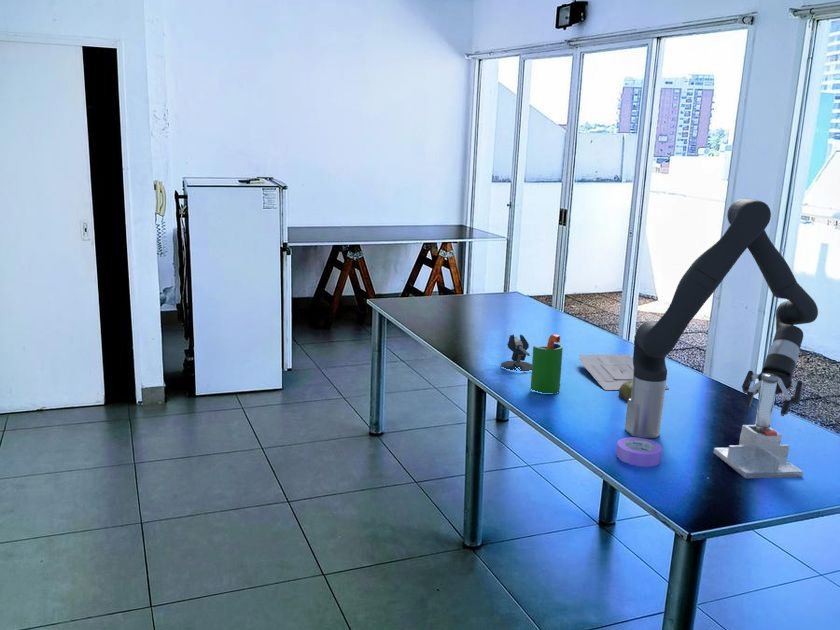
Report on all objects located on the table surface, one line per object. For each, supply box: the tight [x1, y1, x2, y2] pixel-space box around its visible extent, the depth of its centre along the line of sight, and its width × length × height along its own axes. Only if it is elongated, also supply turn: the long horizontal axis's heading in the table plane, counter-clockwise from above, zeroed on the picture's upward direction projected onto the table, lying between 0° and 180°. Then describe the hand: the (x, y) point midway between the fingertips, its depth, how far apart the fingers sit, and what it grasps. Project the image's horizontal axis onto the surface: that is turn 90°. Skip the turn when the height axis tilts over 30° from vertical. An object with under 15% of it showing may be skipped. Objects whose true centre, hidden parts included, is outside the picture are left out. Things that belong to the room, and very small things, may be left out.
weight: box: [618, 380, 633, 402], centre depth 253 cm, size 14×13×5 cm
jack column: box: [754, 373, 779, 434], centre depth 201 cm, size 4×4×23 cm
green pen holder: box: [530, 333, 564, 394], centre depth 255 cm, size 10×9×20 cm
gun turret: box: [500, 333, 532, 371], centre depth 276 cm, size 13×20×13 cm, turn 13°
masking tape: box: [615, 436, 663, 468], centre depth 205 cm, size 12×12×4 cm
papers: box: [578, 353, 670, 391], centre depth 275 cm, size 24×30×4 cm
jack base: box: [713, 424, 804, 479], centre depth 203 cm, size 17×17×11 cm
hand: (765, 410), depth 201 cm, fingers open, 8 cm apart
